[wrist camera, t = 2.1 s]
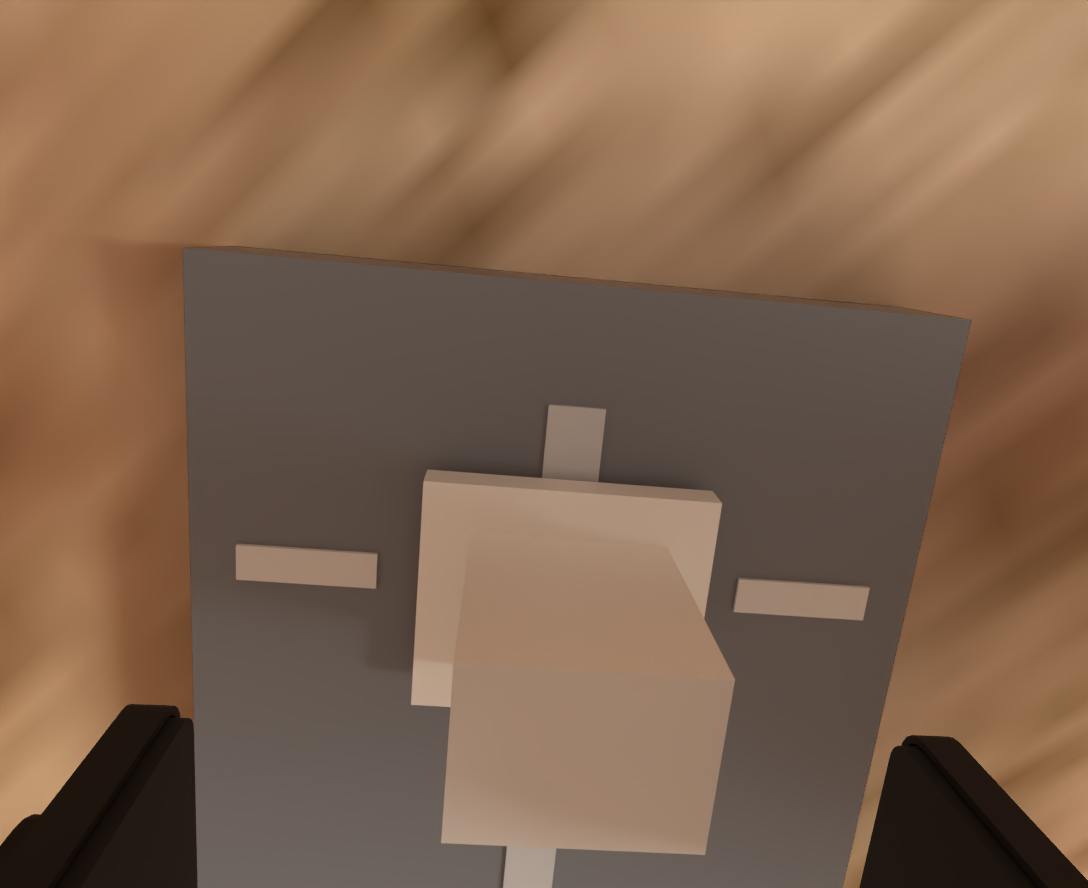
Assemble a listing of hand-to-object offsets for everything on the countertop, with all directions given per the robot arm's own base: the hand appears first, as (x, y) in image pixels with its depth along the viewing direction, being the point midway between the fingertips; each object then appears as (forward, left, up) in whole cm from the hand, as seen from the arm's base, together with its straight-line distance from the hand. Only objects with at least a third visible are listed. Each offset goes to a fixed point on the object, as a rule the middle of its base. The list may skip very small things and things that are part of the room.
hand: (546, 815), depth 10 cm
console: (-1, +6, -10) cm, 12 cm away
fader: (-1, 0, -7) cm, 7 cm away
